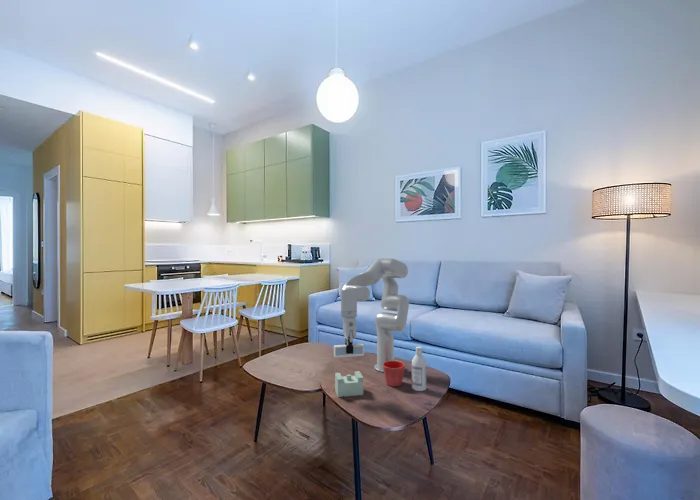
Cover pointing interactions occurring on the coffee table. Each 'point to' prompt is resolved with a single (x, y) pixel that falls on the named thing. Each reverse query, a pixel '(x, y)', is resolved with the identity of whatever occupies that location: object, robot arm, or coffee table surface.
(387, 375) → the flower pot
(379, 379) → the coffee table surface
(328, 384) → the coffee table surface
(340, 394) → the notched toy brick
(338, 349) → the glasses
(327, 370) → the coffee table surface
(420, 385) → the bath foam
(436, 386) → the coffee table surface
